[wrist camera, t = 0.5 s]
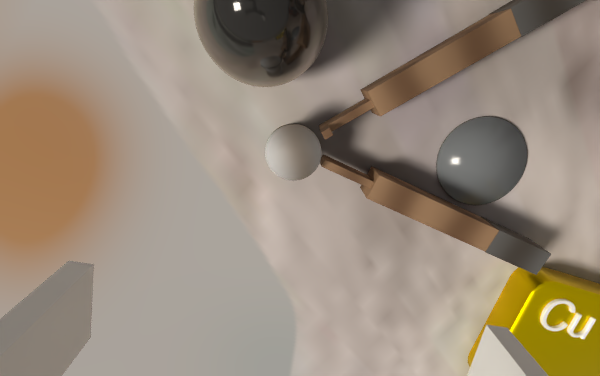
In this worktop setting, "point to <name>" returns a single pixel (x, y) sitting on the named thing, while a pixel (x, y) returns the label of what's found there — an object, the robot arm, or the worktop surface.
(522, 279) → the element tile
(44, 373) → the robot arm
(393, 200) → the base
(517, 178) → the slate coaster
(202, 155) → the worktop surface
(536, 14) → the hinged jaw
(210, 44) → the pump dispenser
